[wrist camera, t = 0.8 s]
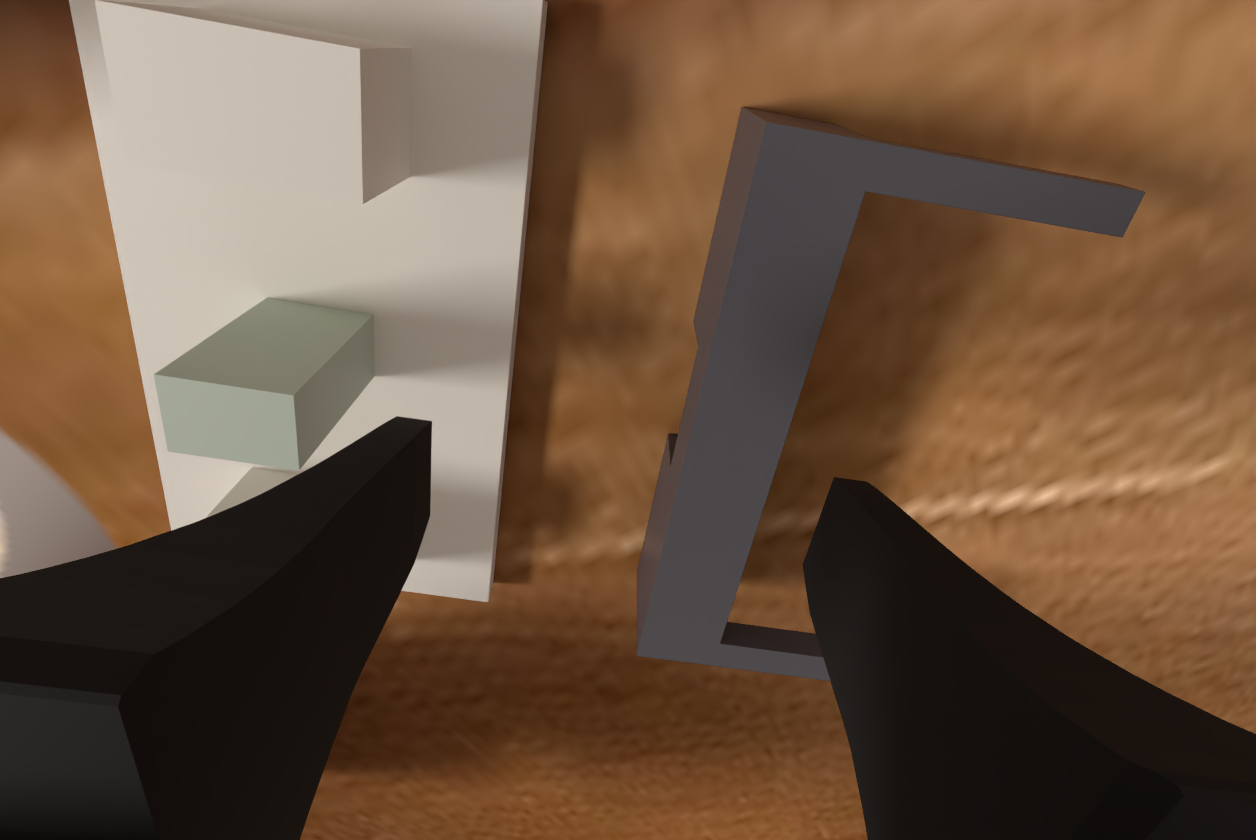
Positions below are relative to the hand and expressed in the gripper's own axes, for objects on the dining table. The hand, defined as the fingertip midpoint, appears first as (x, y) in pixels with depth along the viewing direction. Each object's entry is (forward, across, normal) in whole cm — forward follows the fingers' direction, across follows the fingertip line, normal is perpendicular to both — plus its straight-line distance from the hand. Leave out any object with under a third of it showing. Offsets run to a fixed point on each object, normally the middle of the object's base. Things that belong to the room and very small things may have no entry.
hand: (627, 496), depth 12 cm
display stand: (+10, +9, +2) cm, 13 cm away
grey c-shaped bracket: (+10, -6, +2) cm, 12 cm away
